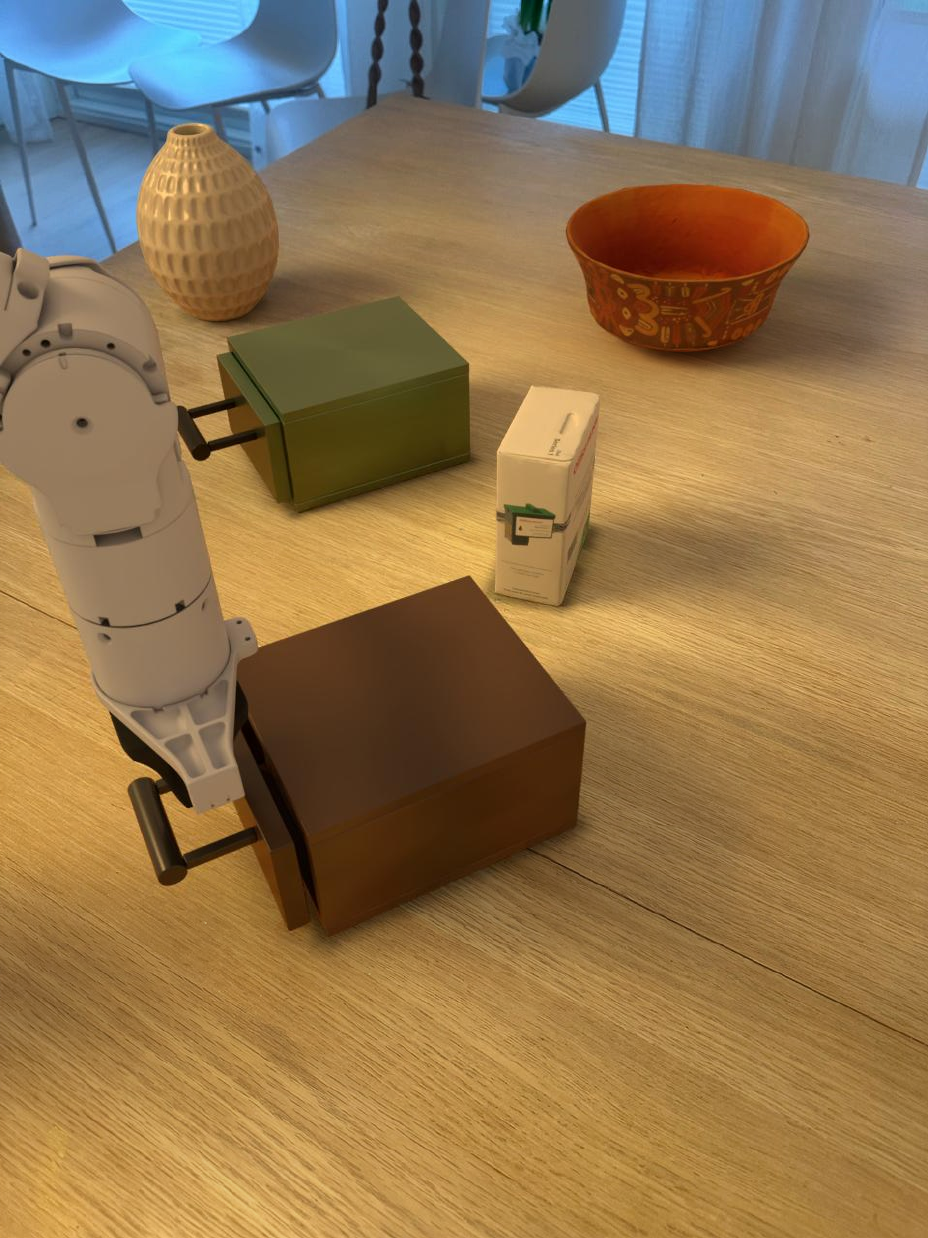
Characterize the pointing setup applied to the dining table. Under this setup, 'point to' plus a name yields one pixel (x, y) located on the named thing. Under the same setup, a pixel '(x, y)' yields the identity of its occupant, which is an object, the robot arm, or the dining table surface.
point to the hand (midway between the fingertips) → (202, 791)
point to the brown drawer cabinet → (410, 748)
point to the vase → (207, 225)
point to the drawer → (242, 427)
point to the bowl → (684, 262)
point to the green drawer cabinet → (360, 398)
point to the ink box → (544, 493)
